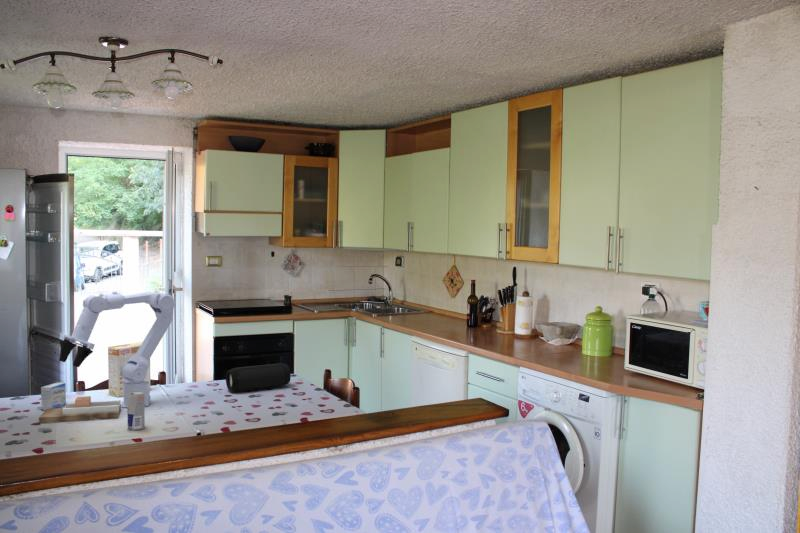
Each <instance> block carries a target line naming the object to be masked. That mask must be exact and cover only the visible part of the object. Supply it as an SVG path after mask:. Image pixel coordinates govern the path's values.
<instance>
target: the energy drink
mask: <svg viewBox="0 0 800 533" xmlns="http://www.w3.org/2000/svg"><path fill="white" fill-rule="evenodd" d="M145 407H146V406H145V404H144V392H142V391H134V392H129V393H128V396H127V407H126V408H127V430H129V431H139V430H143V429H144V428H145V420H146V419H145V418H146V417H145V416H146V415H145V410H146V409H145Z"/></svg>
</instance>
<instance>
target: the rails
mask: <svg viewBox="0 0 800 533" xmlns="http://www.w3.org/2000/svg"><path fill="white" fill-rule="evenodd" d="M120 404H121V399H120V400H101V401H100V400H99V401H91V407H77V408H75V402H68V403H67V402H66V405H65V407H62V408H63V415H67V414H83V413H99V412H115V411H119V406H120Z"/></svg>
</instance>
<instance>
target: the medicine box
mask: <svg viewBox="0 0 800 533" xmlns="http://www.w3.org/2000/svg"><path fill="white" fill-rule="evenodd" d="M66 385H67V384H66V383H65V382H55V383H54V382H53V383H50V384H48V385H44V386H41V387H40V397H41V398H40V400H41V403H40V405H41V410H42V411H45V409H49V408H59V407H60V408H63V407H66V403H67V399H66V398H67V397H66V396H67V393H66V392H67V390H66V389H67V388H66ZM62 406H63V407H62Z"/></svg>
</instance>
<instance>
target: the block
mask: <svg viewBox="0 0 800 533" xmlns="http://www.w3.org/2000/svg"><path fill="white" fill-rule="evenodd" d="M91 398H92V397H91V396H89V395H88V396H77V397H76V398H75V400H74V403H75V408H77V407H91V402H92V399H91Z"/></svg>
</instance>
